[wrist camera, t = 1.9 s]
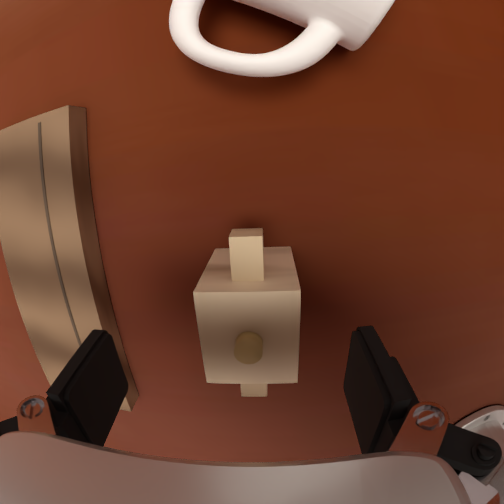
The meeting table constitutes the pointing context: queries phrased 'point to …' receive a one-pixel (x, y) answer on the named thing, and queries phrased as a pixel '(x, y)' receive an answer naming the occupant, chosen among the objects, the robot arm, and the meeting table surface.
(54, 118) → the board
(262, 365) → the beige block with peg
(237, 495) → the robot arm
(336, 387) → the meeting table surface
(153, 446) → the meeting table surface
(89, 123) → the meeting table surface
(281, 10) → the mug
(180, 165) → the meeting table surface
